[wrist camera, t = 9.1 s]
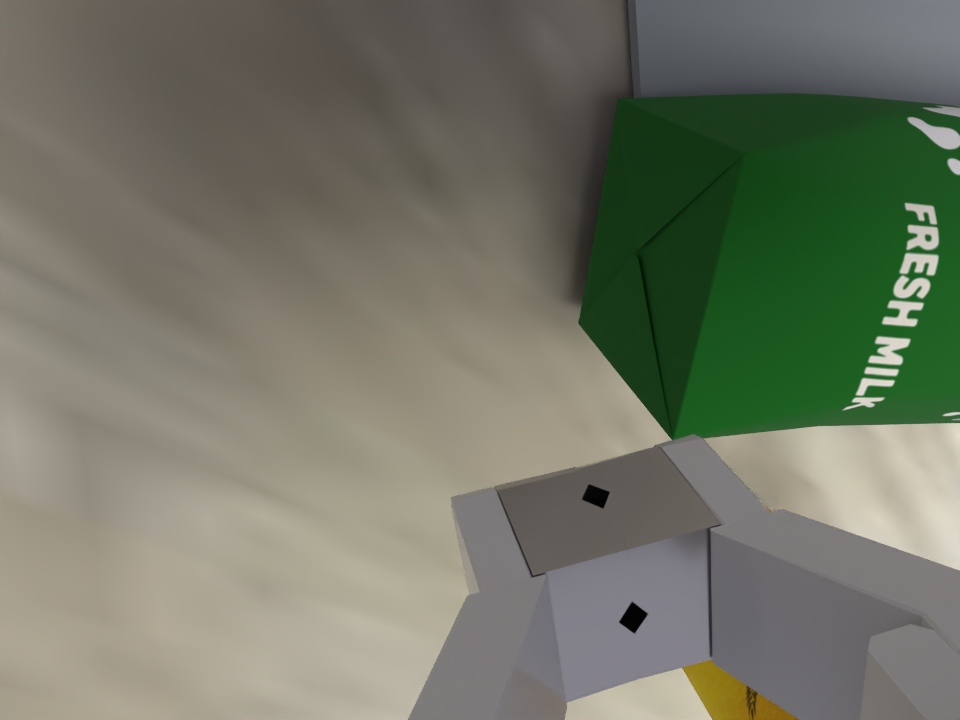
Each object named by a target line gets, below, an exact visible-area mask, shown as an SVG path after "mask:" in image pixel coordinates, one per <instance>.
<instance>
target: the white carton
mask: <svg viewBox="0 0 960 720" xmlns="http://www.w3.org/2000/svg"><path fill="white" fill-rule="evenodd" d="M578 323H579V325H580V326H581V327H582V329H583V330H584V331H585V332H586V334H587V335H588V336H589V337H590V339H591V340H592V341H593V342H594V344H595V345H596V346H597V347H598V348H599V350H600V351H601V352H602V353H603V355H604V356H605V357H606V358H607V360H608V361H609V362H610V363H611V365H612V366H613V367H614V368H615V370H616V371H617V372H618V373H619V375H620V376H621V377H622V378H623V380H624V381H625V382H626V383H627V385H628V386H629V387H630V388H631V390H632V391H633V392H634V393H635V394H636V396H637V397H638V398H639V399H640V401H641V402H642V403H643V404H644V406H645V407H646V408H647V409H648V411H649V412H650V413H651V414H652V416H653V417H654V418H655V419H656V421H657V422H658V423H659V424H660V426H661V427H662V428H663V429H664V431H665V432H666V433H667V434H668V436H669V437H670V438H671V439H672V440H675V439H679V438H682V437H686V436H689V435H692V434H694V435H697V436H700V437H702V438H710V437H720V436H729V435H739V434H748V433H758V432H767V431H776V430H786V429H795V428H804V427H813V426H840V425H885V424H929V423H960V106H954V105H943V104H933V103H922V102H911V101H901V100H890V99H879V98H869V97H857V96H841V95H826V94H797V93H777V94H737V95H705V96H676V97H647V98H618V100H617V107H616V113H615V118H614V124H613V130H612V135H611V141H610V147H609V153H608V158H607V164H606V170H605V175H604V181H603V187H602V193H601V198H600V204H599V210H598V215H597V221H596V227H595V233H594V238H593V244H592V250H591V255H590V261H589V267H588V273H587V278H586V284H585V290H584V296H583V301H582V307H581V313H580V319H579V322H578Z"/></svg>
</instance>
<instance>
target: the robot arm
mask: <svg viewBox="0 0 960 720" xmlns="http://www.w3.org/2000/svg"><path fill="white" fill-rule="evenodd" d="M451 508H452V513H453V518H454V523H455V527H456V532H457V537H458V542H459V547H460V552H461V557H462V562H463V567H464V572H465V577H466V581H467V585H468V590H469V594H470V595H468V596H467V597H466V599H465V601H464V603H463V606H462V608H461V610H460V612H459V614H458V616H457V618H456V620H455V622H454V624H453V626H452V629H451V631H450V633H449V635H448V637H447V639H446V641H445V643H444V645H443V647H442V649H441V652H440V654H439V656H438V658H437V660H436V662H435V664H434V666H433V668H432V670H431V673H430V675H429V677H428V679H427V681H426V683H425V685H424V687H423V689H422V691H421V693H420V696H419V698H418V700H417V702H416V704H415V706H414V708H413V710H412V712H411V714H410V716H409V719H408V720H564V719H565V714H566V710H567V704H566V703H567V702H570V701H573V700H576V699H579V698H582V697H585V696H588V695H591V694H594V693H597V692H600V691H603V690H606V689H609V688H612V687H615V686H618V685H622V684H625V683H628V682H631V681H634V680H637V679H640V678H644V677H648V676H652V675H655V674H659V673H663V672H667V671H671V670H674V669H678V668H682V667H686V666H689V665H693V664H697V663H701V662H704V661H708V660H712V659H713V664H715V665H716V666H718V667H719V668H721V669H722V670H724V671H725V672H727V673H728V674H730V675H731V676H733V677H735V678H736V679H738V680H739V681H741V682H742V683H744V684H745V685H747V686H748V687H750V688H751V689H753V690H754V691H756V692H758V693H759V694H761V695H762V696H764V697H765V698H767V699H768V700H770V701H771V702H773V703H774V704H776V705H777V706H779V707H780V708H782V709H784V710H785V711H787V712H788V713H790V714H791V715H793V716H794V717H796V718H797V719H799V720H960V571H959V570H956V569H953V568H950V567H947V566H944V565H942V564H939V563H936V562H933V561H930V560H927V559H924V558H921V557H919V556H916V555H913V554H910V553H907V552H904V551H901V550H898V549H896V548H893V547H890V546H887V545H884V544H881V543H878V542H875V541H873V540H870V539H867V538H864V537H861V536H858V535H855V534H852V533H850V532H847V531H844V530H841V529H838V528H835V527H832V526H829V525H827V524H824V523H821V522H818V521H815V520H812V519H809V518H806V517H804V516H801V515H798V514H795V513H792V512H789V511H786V510H783V509H781V510H778V511H774V512H770V511H769V510H768V509H767V508H766V507H765V506H764V505H763V504H762V503H761V502H760V501H759V499H758V498H757V497H756V496H755V495H754V494H753V493H752V492H751V491H750V490H749V489H748V487H747V486H746V485H745V484H744V483H743V482H742V481H741V480H740V479H739V478H738V477H737V475H736V474H735V473H734V472H733V471H732V470H731V469H730V468H729V467H728V466H727V465H726V463H725V462H724V461H723V460H722V459H721V458H720V457H719V456H718V455H717V454H716V453H715V451H714V450H713V449H712V448H711V447H710V446H709V445H708V444H707V443H706V442H705V441H704V440H703V438H702V437H700V436H697V435H694V434H692V435H689V436H686V437H682V438H679V439H675V440H672V441H668V442H665V443H661V444H658V445H654V447H653V448H649V449H645V450H641V451H637V452H634V453H630V454H626V455H622V456H619V457H615V458H611V459H607V460H603V461H600V462H596V463H592V464H588V465H584V466H581V467H577V468H576V467H574V468H569V469H565V470H561V471H557V472H552V473H548V474H544V475H540V476H535V477H531V478H527V479H523V480H518V481H514V482H510V483H506V484H501V485H497V486H494V488H492V487H489V488H485V489H481V490H477V491H473V492H469V493H466V494H462V495H458V496H454V497H451Z"/></svg>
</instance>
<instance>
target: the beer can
mask: <svg viewBox="0 0 960 720" xmlns="http://www.w3.org/2000/svg"><path fill="white" fill-rule="evenodd" d="M762 504H763V503H762ZM763 505H764V504H763ZM764 506H765V505H764ZM765 507H766V506H765ZM766 508H767V507H766ZM767 509H768V508H767ZM768 510H769V509H768ZM769 511H770V510H769ZM770 512H771V511H770ZM682 668H683V670H684V672H685V673H686V675H687V677H688V678H689V680H690V682H691V684H692V685H693V687H694V689H695V690H696V692H697V694H698V696H699V697H700V699H701V701H702V702H703V704H704V706H705V708H706V709H707V711H708V713H709V714H710V716H711V718H712V720H799V719H797V718H796V717H794V716H793V715H791V714H790V713H788V712H787V711H785V710H784V709H782V708H780V707H779V706H777V705H776V704H774V703H773V702H771V701H770V700H768V699H767V698H765V697H764V696H762V695H761V694H759V693H758V692H756V691H754V690H753V689H751V688H750V687H748V686H747V685H745V684H744V683H742V682H741V681H739V680H738V679H736V678H735V677H733V676H731V675H730V674H728V673H727V672H725V671H724V670H722V669H721V668H719V667H718V666H716V665H715V664H713V659H712V660H708V661H704V662H701V663H697V664H693V665H689V666H686V667H682Z"/></svg>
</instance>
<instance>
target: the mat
mask: <svg viewBox="0 0 960 720" xmlns="http://www.w3.org/2000/svg"><path fill="white" fill-rule="evenodd" d="M627 1H628V17H629V33H630V49H631V64H632V80H633V96H634V98H647V97H676V96H705V95H737V94H777V93H797V94H826V95H841V96H857V97H869V98H879V99H890V100H901V101H911V102H922V103H933V104H943V105H954V106H960V0H627Z"/></svg>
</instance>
